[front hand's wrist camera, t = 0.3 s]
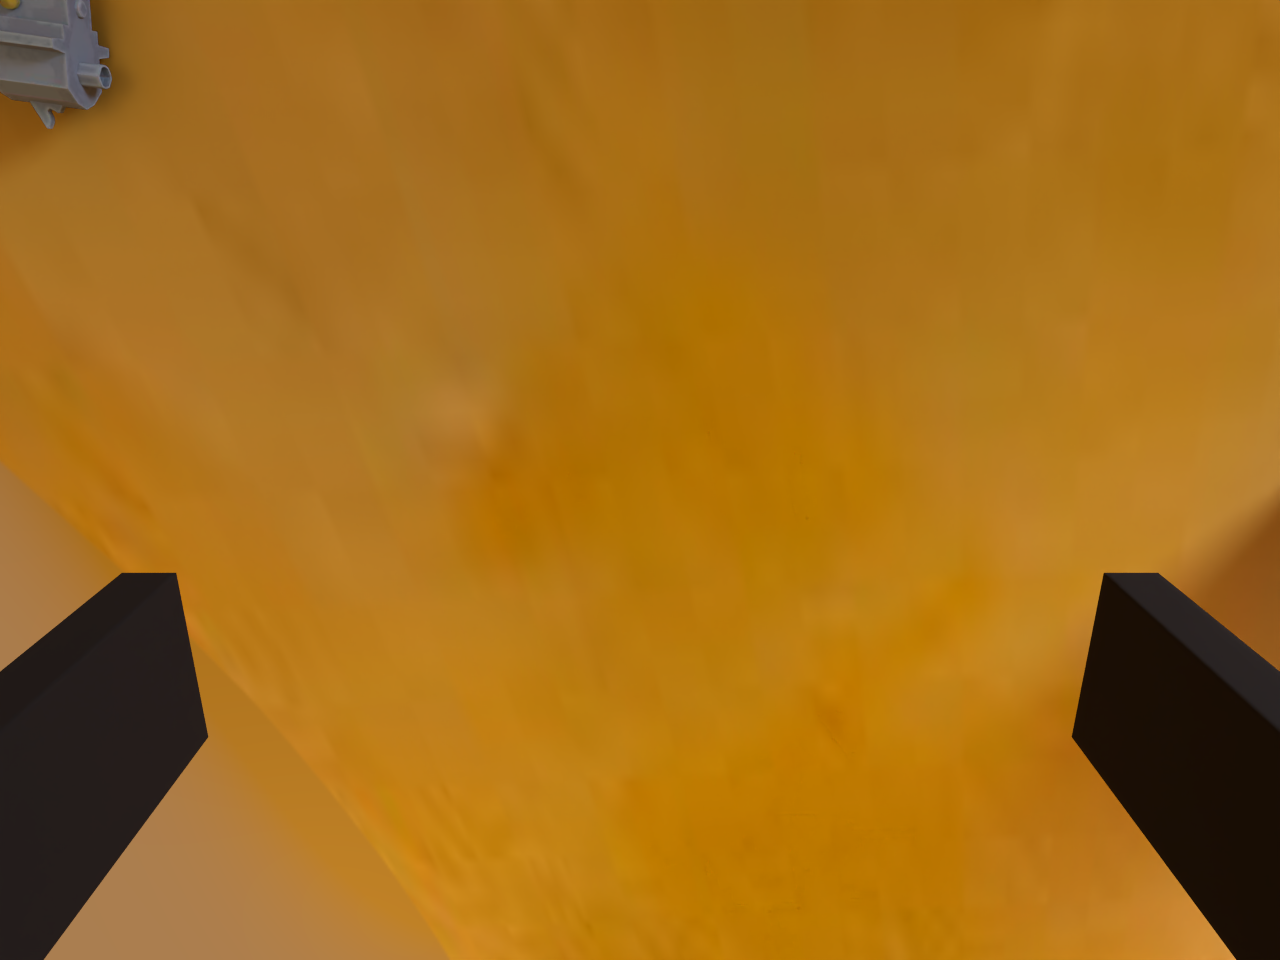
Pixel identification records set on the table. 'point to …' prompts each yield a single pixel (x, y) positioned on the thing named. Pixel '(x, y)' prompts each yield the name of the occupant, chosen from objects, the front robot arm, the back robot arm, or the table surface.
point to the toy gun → (51, 55)
